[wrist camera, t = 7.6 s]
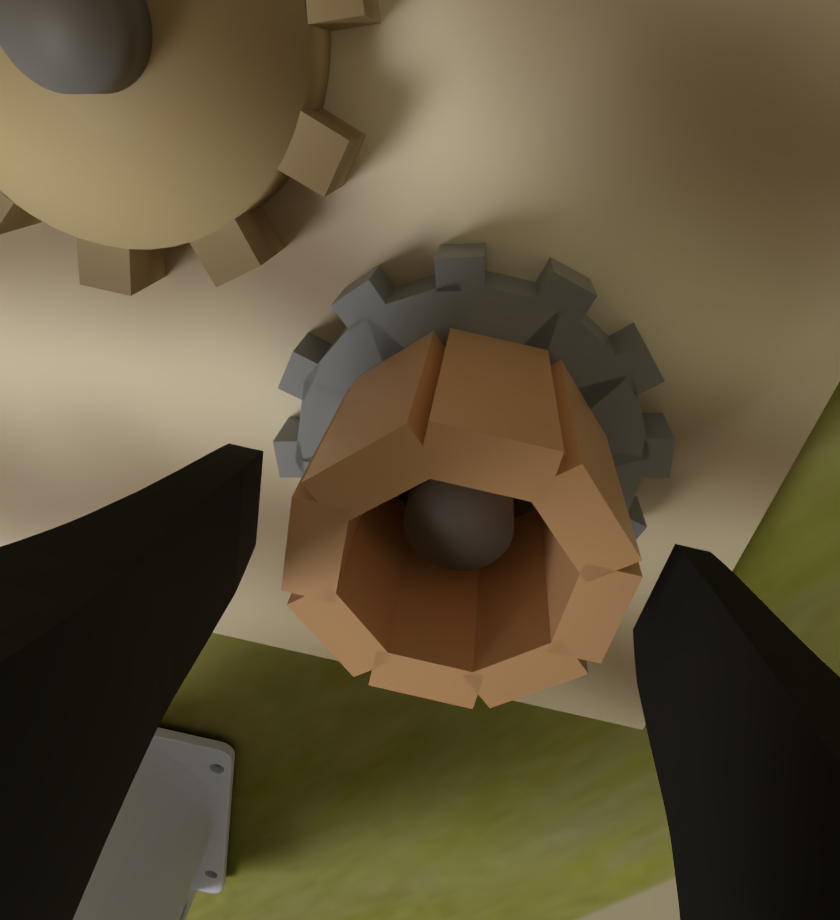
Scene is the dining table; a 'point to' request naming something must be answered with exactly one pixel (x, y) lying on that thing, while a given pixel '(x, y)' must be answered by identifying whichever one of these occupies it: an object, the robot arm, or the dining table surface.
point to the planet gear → (469, 477)
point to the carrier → (410, 242)
